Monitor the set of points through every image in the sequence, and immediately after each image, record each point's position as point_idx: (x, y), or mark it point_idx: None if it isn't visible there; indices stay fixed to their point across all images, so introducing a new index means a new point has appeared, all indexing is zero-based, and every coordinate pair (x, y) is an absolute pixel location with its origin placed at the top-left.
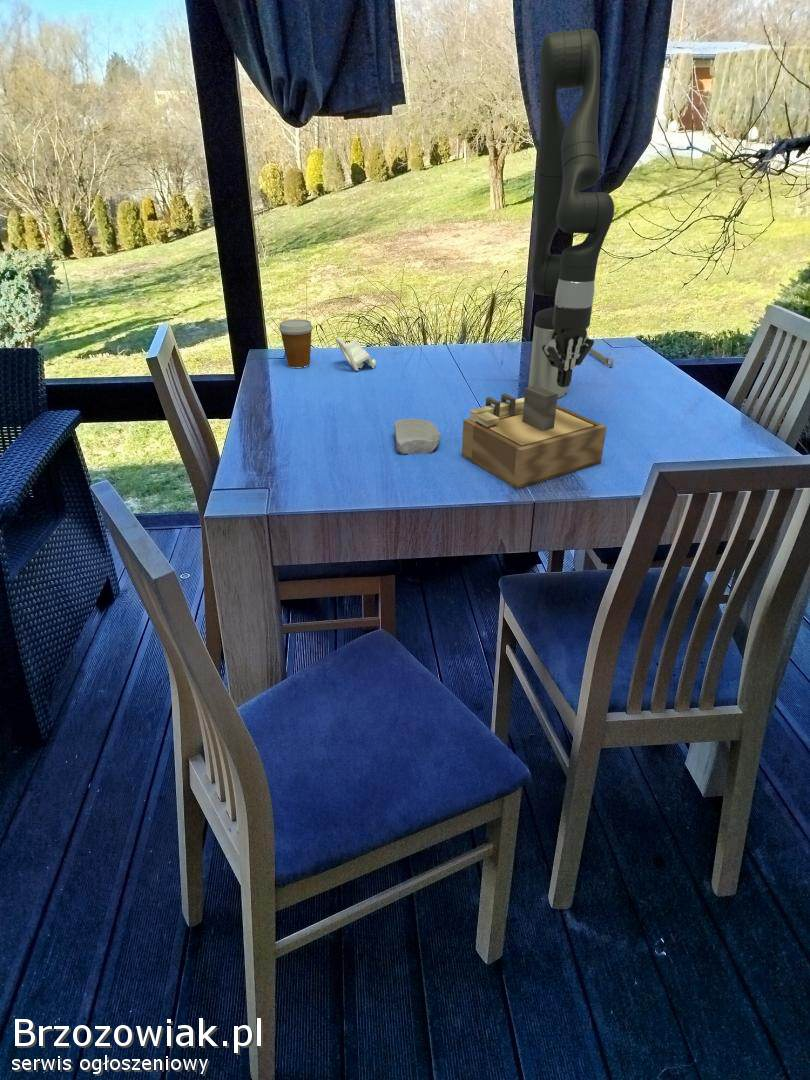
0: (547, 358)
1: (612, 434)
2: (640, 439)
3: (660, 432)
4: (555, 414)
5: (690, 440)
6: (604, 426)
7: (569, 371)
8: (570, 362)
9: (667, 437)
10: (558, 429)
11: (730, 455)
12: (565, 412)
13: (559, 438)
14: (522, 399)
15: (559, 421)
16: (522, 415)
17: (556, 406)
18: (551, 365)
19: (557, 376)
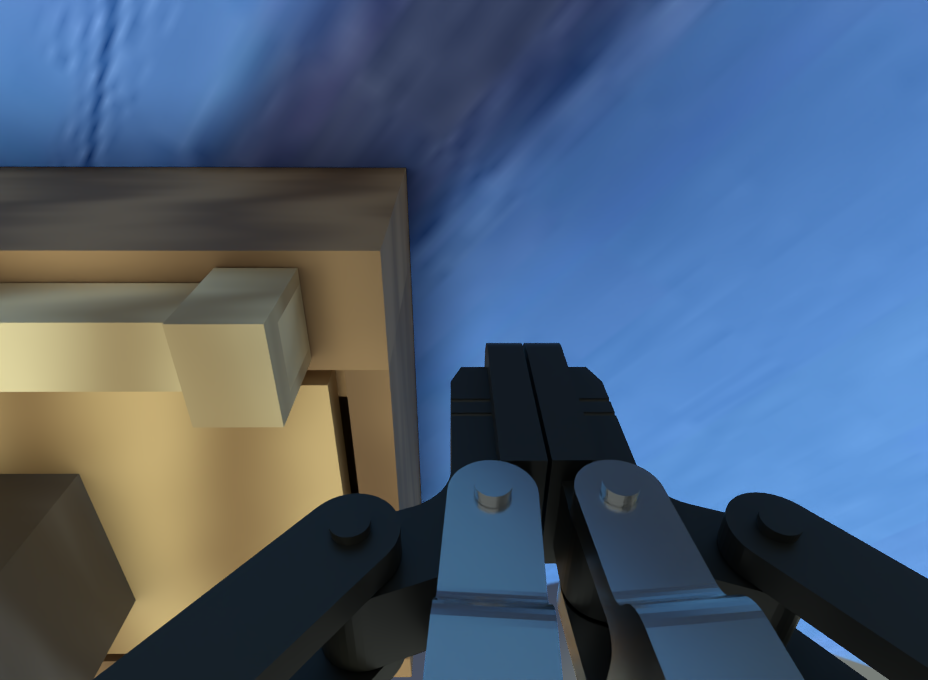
0: (153, 645)
1: (722, 363)
2: (760, 454)
3: (905, 448)
4: (261, 487)
5: (893, 541)
6: (401, 672)
7: (548, 550)
8: (577, 654)
9: (864, 490)
10: (152, 617)
11: (842, 647)
12: (358, 479)
13: (101, 672)
14: (6, 354)
15: (220, 560)
16: (19, 403)
17: (363, 396)
18: (316, 520)
19: (451, 420)
